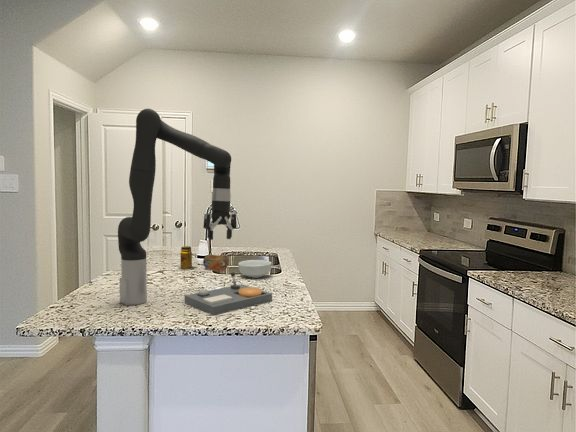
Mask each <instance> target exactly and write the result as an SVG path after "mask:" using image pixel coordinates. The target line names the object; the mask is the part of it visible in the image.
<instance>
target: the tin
mask: <svg viewBox="0 0 576 432" xmlns="http://www.w3.org/2000/svg"><path fill="white" fill-rule="evenodd" d="M228 261H229V260H228V258H227V257H226V256H225V255H219V254H207V255H205V256H204V257H203V260H202V264H203V266H204V269H206V270H208V271H213V272H214V271H215V272H223V271H225V270H226V269H227V268H228V263H229V262H228Z"/></svg>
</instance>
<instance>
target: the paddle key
mask: <svg viewBox="0 0 576 432" xmlns="http://www.w3.org/2000/svg"><path fill="white" fill-rule="evenodd" d="M229 300H233V297H230V296H227V295H225V294H224V295H219V296H214V297H209V298H205V299H203V302H205V303H208V304H216V303H220V302H225V301H229Z"/></svg>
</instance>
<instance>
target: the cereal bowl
mask: <svg viewBox="0 0 576 432" xmlns="http://www.w3.org/2000/svg"><path fill="white" fill-rule="evenodd" d="M272 267H273V266H272V262H271V261H269V260H264V259H250V260H249V259H248V260H242V261H240V262H238V270H239V272H240V274H242V275H244V276H247V277H248V278H250V277H252V278H251V279H259V277H260V278H263V277H264V276H265V275H267V274H269V273H270V272H271V270H272ZM262 276H263V277H262Z"/></svg>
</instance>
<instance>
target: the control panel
mask: <svg viewBox="0 0 576 432" xmlns="http://www.w3.org/2000/svg"><path fill="white" fill-rule="evenodd" d="M246 287H250V285H249V286H248V285H245V284H236V285H234V284H232V285H230V286H227V287H222V288H216V289H211V290H208V295H207V296H199V292H195V293H189V294H185V295H184V304H186V305H188V306H191V307H194V308H196V309H198V310H200V311H202V310H203V311H202V312H205V313H207V312H208V314H209V313H210V314H209V315H213V316H215V315H220V314H224V313H227V312H232V311H235V310H236V311H237V310H239V309H240V310H241V309H245V308H248V307H252V306H256V305H260V304H265V303H269V302H273V293H271V292H268V291H265V290H262V295H259V296H255V297H250V298H247V297H244V296H241V295H239V289H241V288H246ZM224 294H225V295H227V296H230V297H233V300H229V301H225V302H220V303H216V304H208V303H205V302H203V299H205V298H209V297H214V296H219V295H224Z"/></svg>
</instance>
